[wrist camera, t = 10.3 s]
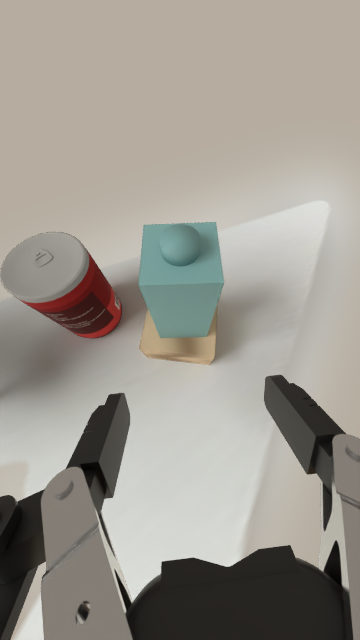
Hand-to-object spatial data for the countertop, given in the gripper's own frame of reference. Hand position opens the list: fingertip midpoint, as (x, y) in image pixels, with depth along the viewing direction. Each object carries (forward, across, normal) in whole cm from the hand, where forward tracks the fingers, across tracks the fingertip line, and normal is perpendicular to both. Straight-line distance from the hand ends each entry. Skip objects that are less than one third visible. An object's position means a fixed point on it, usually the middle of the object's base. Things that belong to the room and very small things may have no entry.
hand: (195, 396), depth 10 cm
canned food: (+18, +12, 0) cm, 22 cm away
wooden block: (+15, 0, +3) cm, 15 cm away
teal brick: (+12, 0, -1) cm, 12 cm away
